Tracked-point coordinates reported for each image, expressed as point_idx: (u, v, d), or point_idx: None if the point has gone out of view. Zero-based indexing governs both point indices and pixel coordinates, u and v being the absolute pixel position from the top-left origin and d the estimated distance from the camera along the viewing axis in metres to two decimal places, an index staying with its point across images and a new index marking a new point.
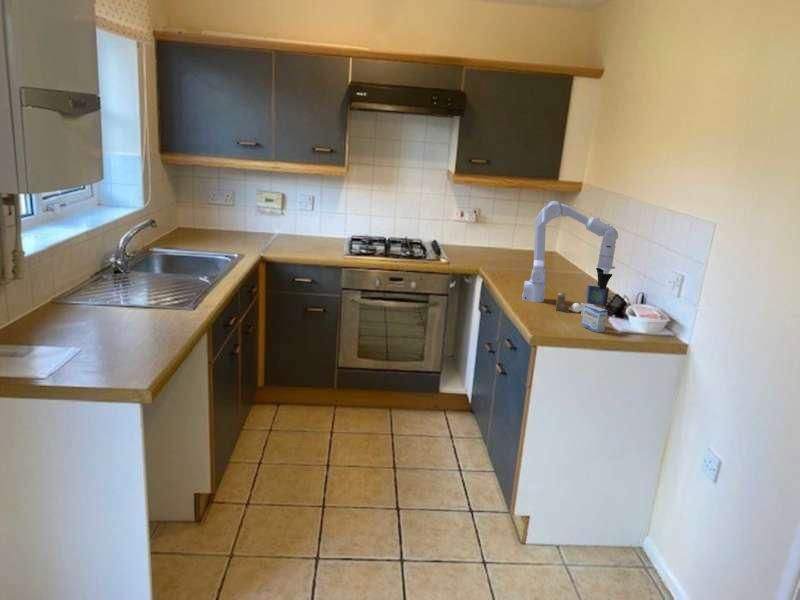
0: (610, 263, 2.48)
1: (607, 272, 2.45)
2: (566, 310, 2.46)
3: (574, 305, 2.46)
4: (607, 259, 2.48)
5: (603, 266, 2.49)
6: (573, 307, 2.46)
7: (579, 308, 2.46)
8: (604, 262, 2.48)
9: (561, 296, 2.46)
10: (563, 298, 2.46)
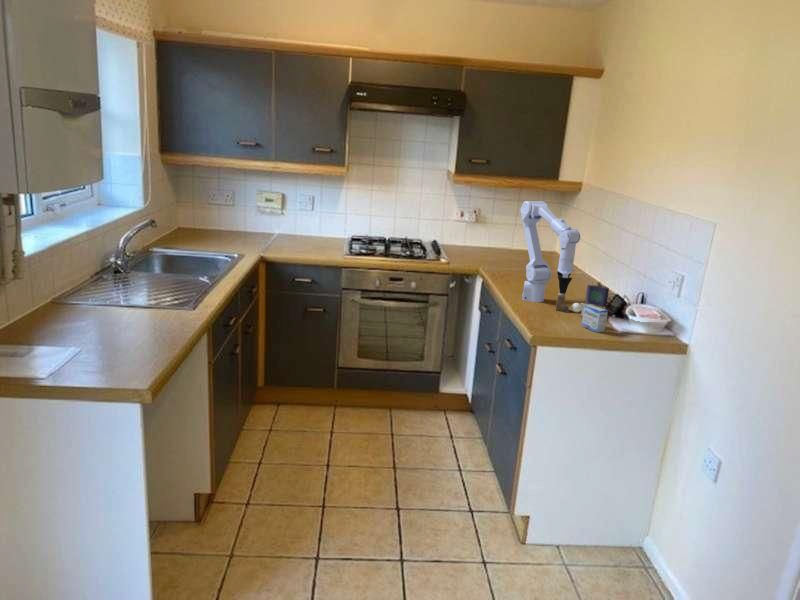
0: (570, 267, 2.42)
1: (566, 276, 2.38)
2: (566, 310, 2.46)
3: (574, 305, 2.46)
4: (567, 262, 2.41)
5: (563, 270, 2.42)
6: (573, 307, 2.46)
7: (579, 308, 2.46)
8: (564, 266, 2.41)
9: (561, 296, 2.46)
10: (563, 298, 2.46)
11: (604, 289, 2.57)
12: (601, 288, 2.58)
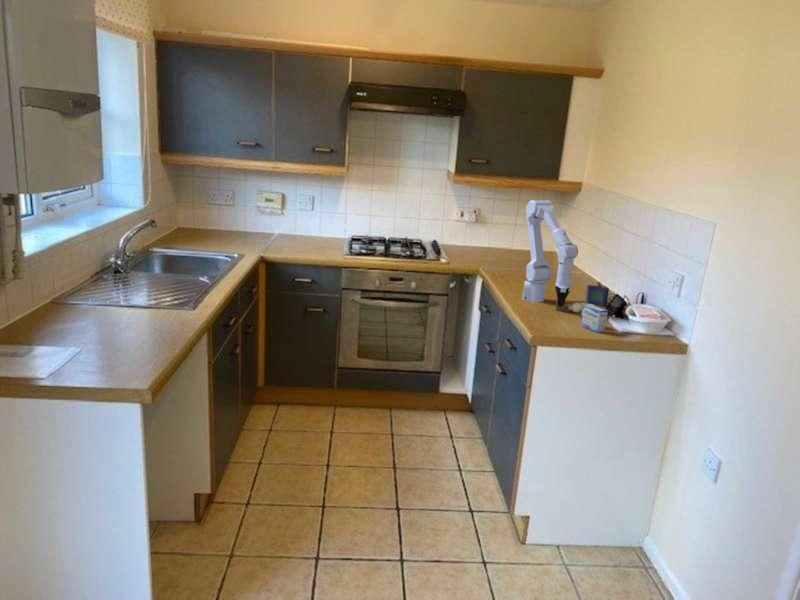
0: (568, 281, 2.43)
1: (564, 291, 2.39)
2: (566, 310, 2.46)
3: (574, 305, 2.46)
4: (565, 277, 2.42)
5: (561, 284, 2.44)
6: (573, 307, 2.46)
7: (579, 308, 2.46)
8: (562, 280, 2.43)
9: None
10: None
11: (604, 289, 2.57)
12: (601, 288, 2.58)
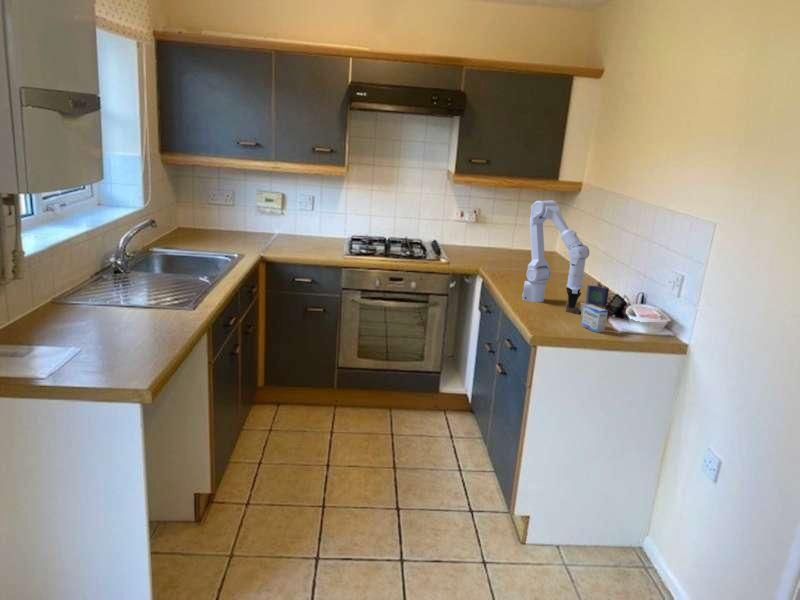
0: (579, 282, 2.42)
1: (576, 292, 2.39)
2: (576, 311, 2.45)
3: None
4: (576, 278, 2.42)
5: (572, 285, 2.43)
6: (584, 306, 2.45)
7: None
8: (573, 281, 2.42)
9: None
10: None
11: (604, 289, 2.57)
12: (601, 288, 2.58)
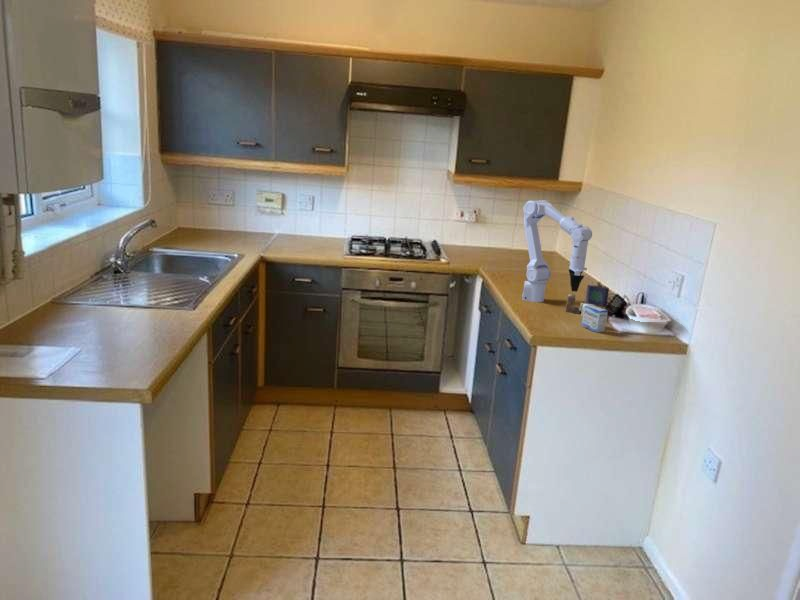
0: (582, 264, 2.40)
1: (578, 274, 2.37)
2: (576, 311, 2.45)
3: None
4: (579, 260, 2.40)
5: (575, 267, 2.41)
6: None
7: None
8: (576, 263, 2.40)
9: (571, 297, 2.45)
10: (573, 299, 2.45)
11: (604, 289, 2.57)
12: (601, 288, 2.58)
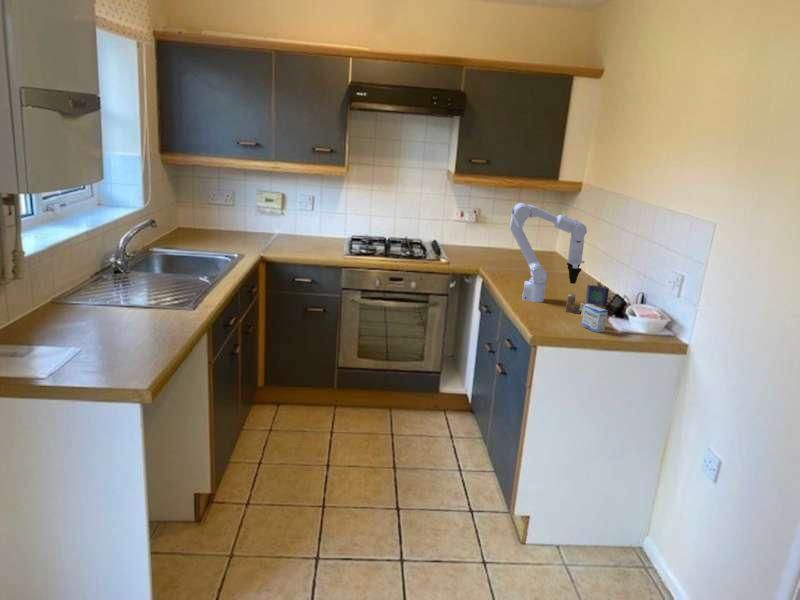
0: (579, 258, 2.54)
1: (576, 266, 2.50)
2: (576, 311, 2.45)
3: None
4: (576, 254, 2.53)
5: (572, 261, 2.54)
6: None
7: None
8: (573, 257, 2.53)
9: (571, 297, 2.45)
10: (573, 299, 2.45)
11: (604, 289, 2.57)
12: (601, 288, 2.58)
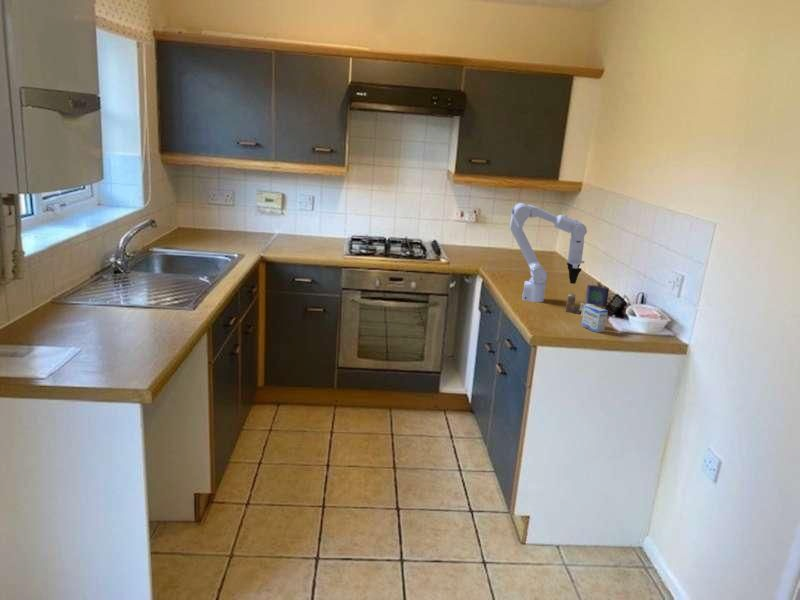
0: (579, 258, 2.54)
1: (576, 266, 2.50)
2: (576, 311, 2.45)
3: None
4: (576, 254, 2.53)
5: (572, 261, 2.54)
6: None
7: None
8: (573, 257, 2.53)
9: (571, 297, 2.45)
10: (573, 299, 2.45)
11: (604, 289, 2.57)
12: (601, 288, 2.58)
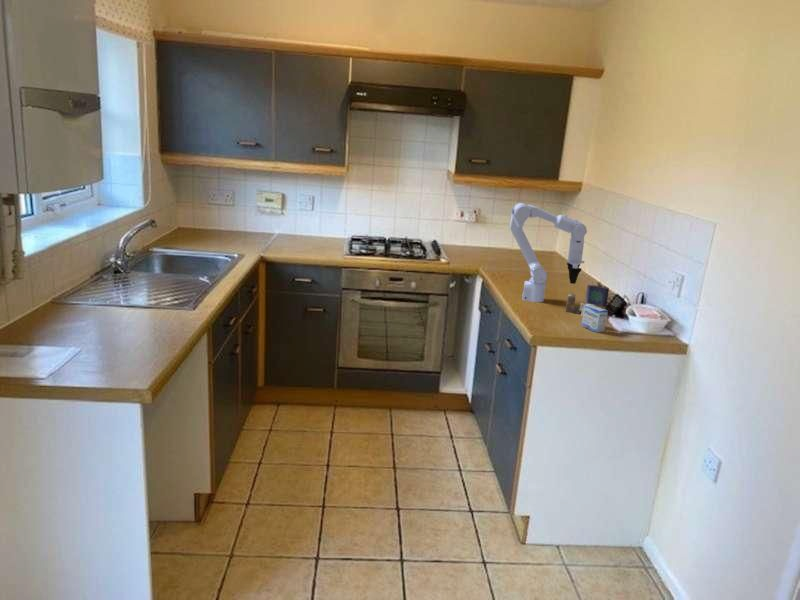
0: (579, 258, 2.54)
1: (576, 266, 2.50)
2: (576, 311, 2.45)
3: None
4: (576, 254, 2.53)
5: (572, 261, 2.54)
6: None
7: None
8: (573, 257, 2.53)
9: (571, 297, 2.45)
10: (573, 299, 2.45)
11: (604, 289, 2.57)
12: (601, 288, 2.58)
